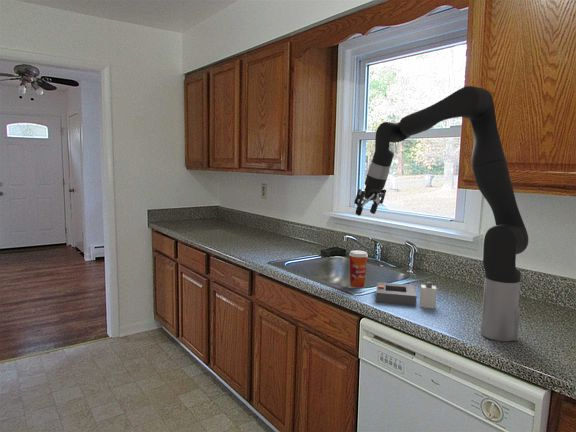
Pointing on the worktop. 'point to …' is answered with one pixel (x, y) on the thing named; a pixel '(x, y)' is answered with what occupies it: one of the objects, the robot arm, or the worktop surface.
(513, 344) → the worktop surface
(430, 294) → the plug
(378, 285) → the socket
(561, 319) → the worktop surface
